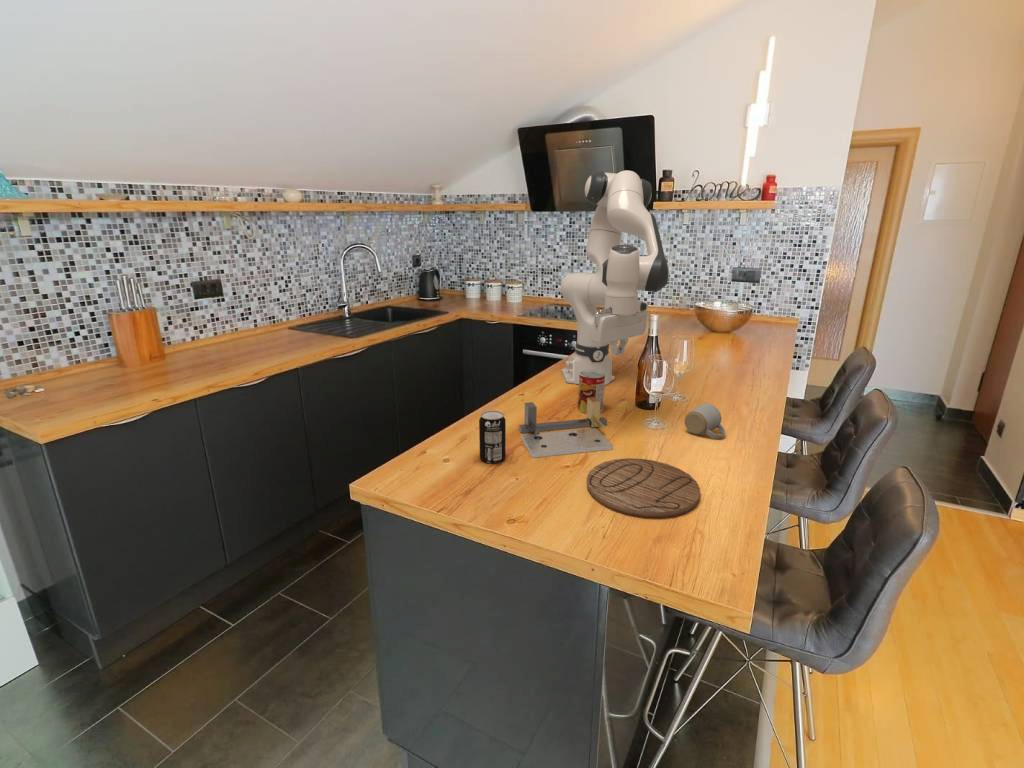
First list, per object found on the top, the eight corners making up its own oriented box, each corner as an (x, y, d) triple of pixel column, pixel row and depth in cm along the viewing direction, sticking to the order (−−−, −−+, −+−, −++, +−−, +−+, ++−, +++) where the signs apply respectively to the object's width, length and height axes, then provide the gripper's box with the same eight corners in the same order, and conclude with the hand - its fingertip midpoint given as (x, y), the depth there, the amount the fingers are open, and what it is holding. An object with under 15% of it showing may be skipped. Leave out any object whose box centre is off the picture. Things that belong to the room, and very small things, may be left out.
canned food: (583, 403, 175) (585, 368, 172) (606, 408, 172) (608, 372, 168) (573, 411, 169) (575, 374, 165) (597, 416, 165) (599, 378, 161)
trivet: (717, 488, 124) (718, 480, 123) (667, 534, 106) (668, 526, 105) (622, 456, 139) (622, 449, 139) (564, 492, 122) (564, 484, 121)
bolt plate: (521, 439, 149) (521, 434, 148) (595, 431, 153) (595, 427, 153) (532, 457, 138) (532, 453, 137) (612, 449, 142) (613, 445, 142)
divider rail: (518, 429, 155) (518, 403, 153) (602, 421, 161) (604, 396, 159) (527, 443, 146) (527, 415, 144) (616, 434, 152) (618, 408, 149)
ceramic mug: (681, 431, 154) (684, 406, 151) (695, 424, 159) (699, 399, 157) (716, 443, 147) (720, 417, 144) (730, 435, 152) (734, 410, 149)
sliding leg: (585, 421, 160) (587, 397, 158) (593, 420, 161) (594, 396, 158) (599, 435, 151) (600, 409, 148) (607, 434, 151) (608, 408, 149)
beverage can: (491, 450, 142) (491, 407, 138) (510, 457, 138) (510, 413, 134) (474, 459, 137) (473, 415, 133) (493, 466, 133) (493, 421, 129)
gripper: (604, 312, 140) (602, 363, 145) (652, 303, 153) (648, 350, 157) (586, 308, 145) (584, 358, 149) (634, 300, 157) (630, 346, 162)
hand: (617, 354), depth 153 cm, fingers closed
